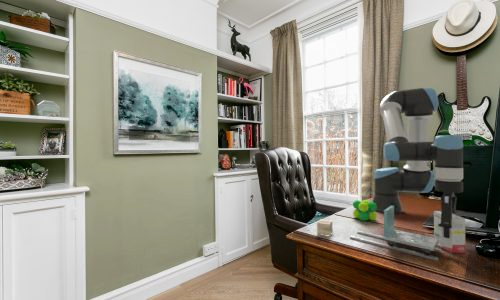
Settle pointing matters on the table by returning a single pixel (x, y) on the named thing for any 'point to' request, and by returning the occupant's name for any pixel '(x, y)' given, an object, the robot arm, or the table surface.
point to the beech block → (324, 227)
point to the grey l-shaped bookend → (406, 235)
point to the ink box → (457, 232)
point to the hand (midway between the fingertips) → (449, 241)
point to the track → (394, 246)
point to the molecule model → (364, 210)
